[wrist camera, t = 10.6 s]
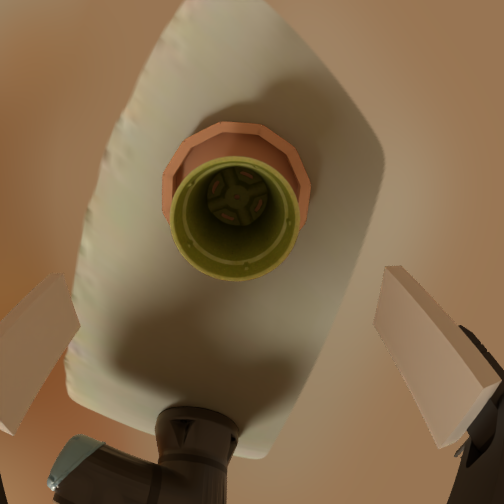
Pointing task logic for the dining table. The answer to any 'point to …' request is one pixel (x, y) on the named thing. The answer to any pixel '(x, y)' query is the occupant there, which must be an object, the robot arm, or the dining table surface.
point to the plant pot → (245, 218)
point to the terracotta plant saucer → (237, 144)
